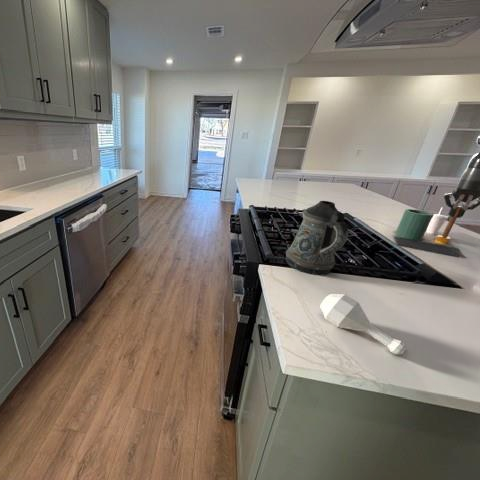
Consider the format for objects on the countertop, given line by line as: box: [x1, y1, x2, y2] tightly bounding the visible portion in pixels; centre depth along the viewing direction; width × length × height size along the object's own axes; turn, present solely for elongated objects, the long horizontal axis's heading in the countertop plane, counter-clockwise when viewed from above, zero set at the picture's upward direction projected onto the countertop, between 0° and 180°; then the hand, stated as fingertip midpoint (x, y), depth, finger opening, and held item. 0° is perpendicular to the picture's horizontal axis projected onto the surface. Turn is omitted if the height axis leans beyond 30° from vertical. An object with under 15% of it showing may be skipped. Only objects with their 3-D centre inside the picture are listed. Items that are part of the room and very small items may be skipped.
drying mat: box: [393, 235, 460, 258], centre depth 117 cm, size 20×12×1 cm, turn 55°
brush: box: [434, 205, 462, 246], centre depth 118 cm, size 5×5×18 cm
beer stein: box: [285, 200, 349, 276], centre depth 92 cm, size 16×19×25 cm
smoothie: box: [426, 206, 449, 235], centre depth 131 cm, size 6×6×14 cm
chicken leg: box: [319, 293, 406, 355], centre depth 64 cm, size 8×18×8 cm, turn 37°
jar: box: [394, 208, 435, 241], centre depth 125 cm, size 10×10×13 cm
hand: (454, 216), depth 116 cm, fingers closed on brush
